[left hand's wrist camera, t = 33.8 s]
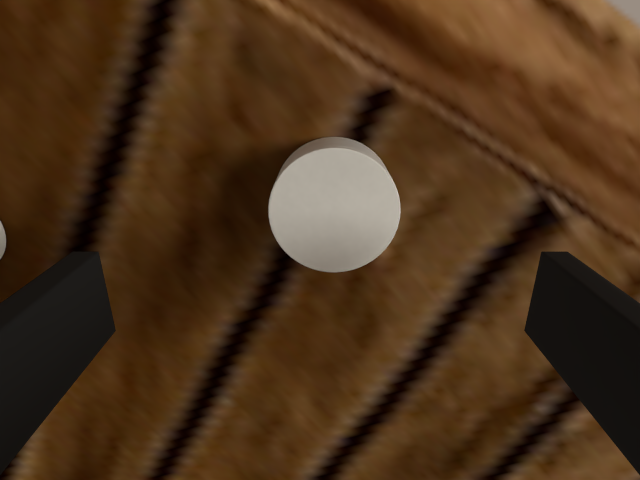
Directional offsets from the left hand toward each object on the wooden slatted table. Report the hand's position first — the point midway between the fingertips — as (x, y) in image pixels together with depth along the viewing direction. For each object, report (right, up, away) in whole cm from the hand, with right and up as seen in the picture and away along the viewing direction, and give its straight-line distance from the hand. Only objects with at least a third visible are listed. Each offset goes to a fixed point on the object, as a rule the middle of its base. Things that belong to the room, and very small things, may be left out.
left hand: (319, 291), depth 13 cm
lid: (0, +3, +4) cm, 4 cm away
